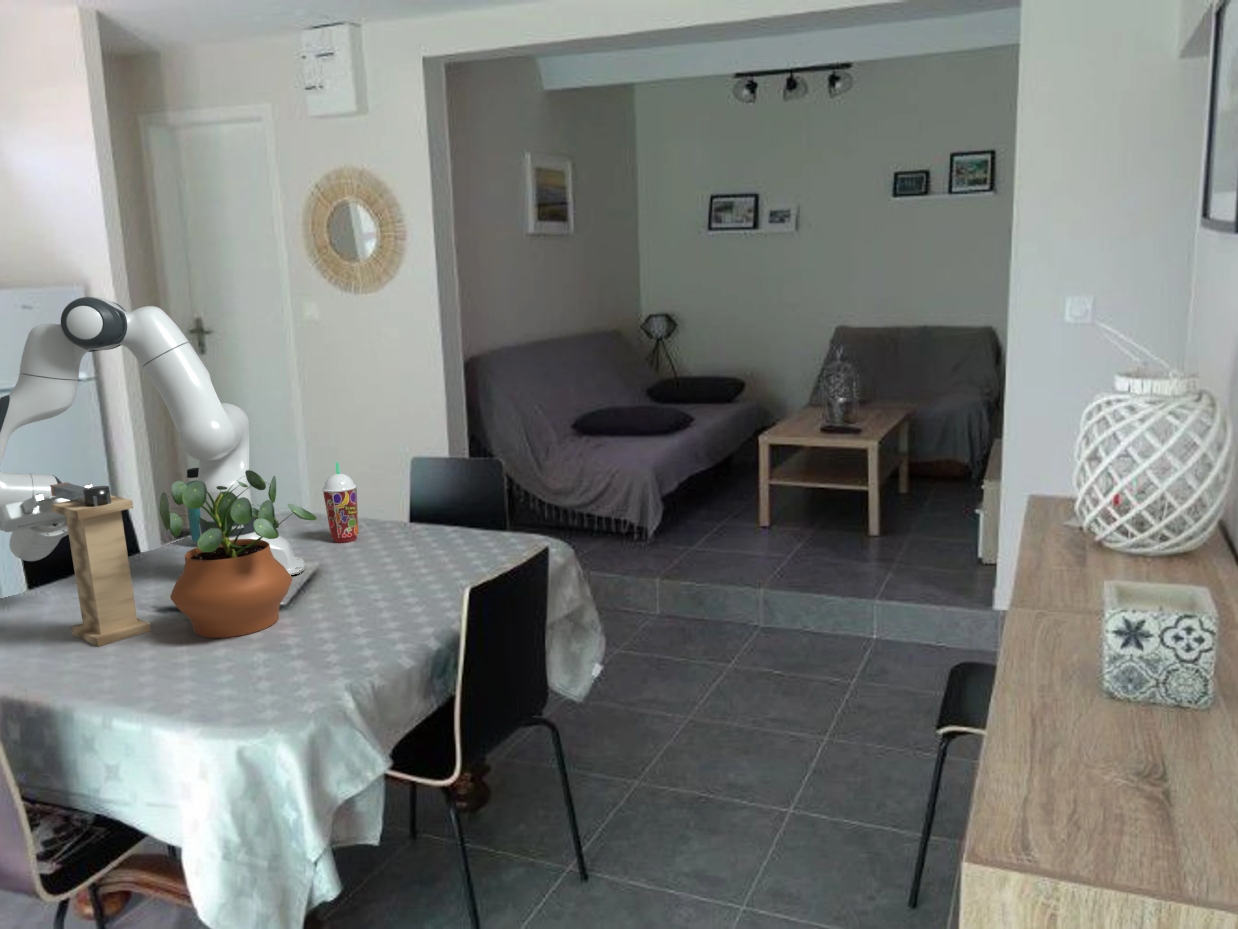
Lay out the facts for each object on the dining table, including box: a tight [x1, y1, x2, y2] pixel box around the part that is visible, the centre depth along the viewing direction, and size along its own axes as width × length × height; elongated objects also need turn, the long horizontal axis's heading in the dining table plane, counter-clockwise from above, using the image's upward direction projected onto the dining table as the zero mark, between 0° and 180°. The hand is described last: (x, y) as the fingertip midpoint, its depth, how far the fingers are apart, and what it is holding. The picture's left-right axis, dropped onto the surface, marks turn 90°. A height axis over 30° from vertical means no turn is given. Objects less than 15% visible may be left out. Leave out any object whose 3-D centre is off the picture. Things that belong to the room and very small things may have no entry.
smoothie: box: [322, 462, 359, 544], centre depth 260 cm, size 8×8×20 cm
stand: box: [51, 494, 152, 648], centre depth 198 cm, size 12×10×26 cm
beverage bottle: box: [185, 467, 201, 543], centre depth 263 cm, size 6×7×20 cm
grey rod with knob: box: [50, 481, 111, 507], centre depth 198 cm, size 20×4×3 cm, turn 49°
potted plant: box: [158, 469, 317, 639], centre depth 199 cm, size 23×28×30 cm
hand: (64, 492), depth 203 cm, fingers open, 8 cm apart
